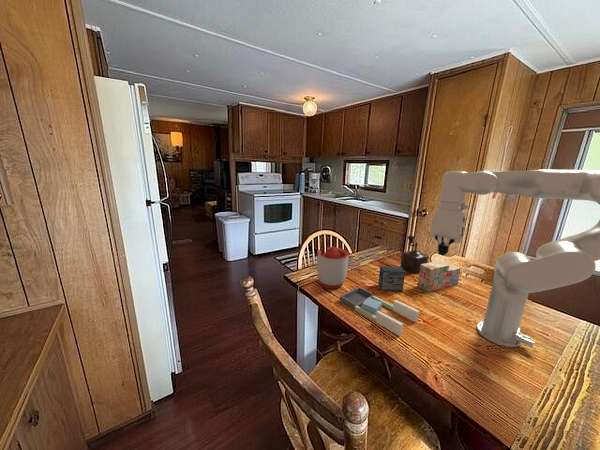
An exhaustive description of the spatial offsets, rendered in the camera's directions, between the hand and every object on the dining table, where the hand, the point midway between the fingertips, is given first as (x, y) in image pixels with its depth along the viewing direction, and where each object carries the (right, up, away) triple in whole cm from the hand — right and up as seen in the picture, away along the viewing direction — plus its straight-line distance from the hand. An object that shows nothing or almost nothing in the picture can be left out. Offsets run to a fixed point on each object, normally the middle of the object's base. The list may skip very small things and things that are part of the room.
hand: (442, 254), depth 91 cm
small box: (-9, -20, +29) cm, 37 cm away
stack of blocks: (+17, -20, +33) cm, 42 cm away
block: (-24, -25, +10) cm, 36 cm away
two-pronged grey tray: (-22, -25, +10) cm, 35 cm away
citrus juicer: (-38, -19, +33) cm, 54 cm away
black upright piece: (+12, -14, +53) cm, 56 cm away
